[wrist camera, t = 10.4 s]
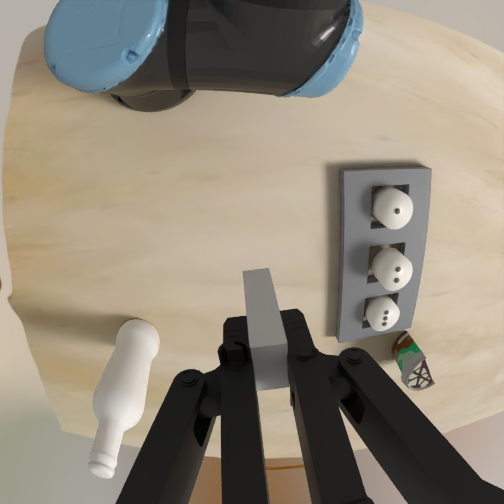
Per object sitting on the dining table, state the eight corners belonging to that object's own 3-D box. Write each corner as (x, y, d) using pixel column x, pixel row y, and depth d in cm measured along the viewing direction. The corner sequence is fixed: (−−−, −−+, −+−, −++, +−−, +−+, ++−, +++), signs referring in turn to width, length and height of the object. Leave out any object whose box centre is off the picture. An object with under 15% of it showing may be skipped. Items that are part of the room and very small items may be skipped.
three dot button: (364, 295, 54) (372, 308, 50) (392, 290, 54) (402, 302, 51) (361, 321, 57) (369, 334, 53) (388, 315, 57) (397, 328, 53)
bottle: (137, 309, 53) (86, 453, 25) (169, 336, 56) (142, 482, 28) (112, 330, 54) (61, 463, 27) (143, 355, 57) (110, 489, 30)
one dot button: (369, 186, 46) (381, 193, 42) (401, 185, 46) (414, 191, 42) (369, 222, 49) (379, 231, 45) (400, 219, 49) (412, 228, 45)
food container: (380, 342, 60) (398, 374, 51) (404, 326, 59) (425, 356, 50) (395, 370, 65) (411, 400, 56) (417, 356, 64) (435, 384, 55)
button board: (339, 169, 45) (343, 171, 43) (425, 166, 45) (431, 168, 43) (335, 336, 58) (338, 343, 56) (406, 322, 59) (410, 327, 57)
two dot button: (372, 249, 48) (383, 260, 45) (403, 245, 49) (415, 255, 45) (370, 281, 51) (379, 294, 47) (399, 276, 51) (410, 288, 47)
